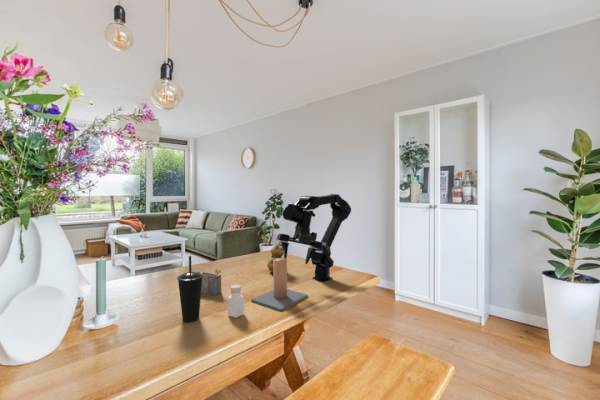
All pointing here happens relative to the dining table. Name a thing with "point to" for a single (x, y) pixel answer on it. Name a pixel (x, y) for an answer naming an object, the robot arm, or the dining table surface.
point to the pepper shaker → (235, 302)
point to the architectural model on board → (211, 283)
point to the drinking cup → (190, 294)
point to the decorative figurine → (275, 255)
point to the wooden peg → (280, 278)
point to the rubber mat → (279, 300)
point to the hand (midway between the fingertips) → (295, 262)
